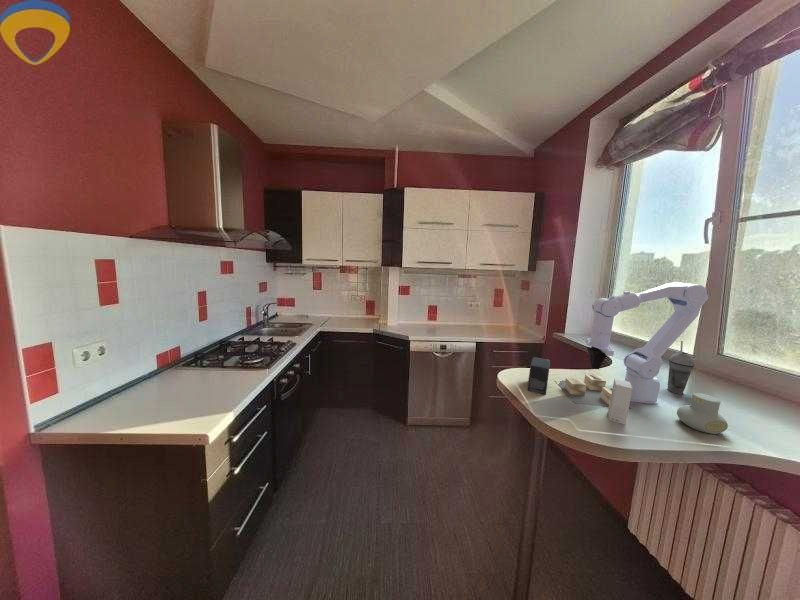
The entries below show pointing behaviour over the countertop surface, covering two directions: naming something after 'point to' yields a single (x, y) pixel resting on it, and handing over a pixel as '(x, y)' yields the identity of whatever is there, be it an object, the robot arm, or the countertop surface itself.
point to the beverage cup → (679, 371)
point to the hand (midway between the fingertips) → (595, 368)
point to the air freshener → (703, 414)
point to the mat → (585, 396)
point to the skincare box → (620, 401)
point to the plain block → (575, 386)
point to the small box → (538, 375)
